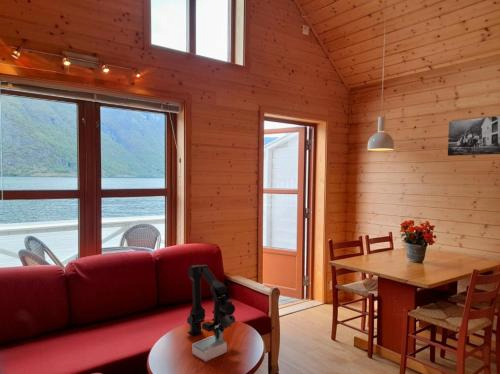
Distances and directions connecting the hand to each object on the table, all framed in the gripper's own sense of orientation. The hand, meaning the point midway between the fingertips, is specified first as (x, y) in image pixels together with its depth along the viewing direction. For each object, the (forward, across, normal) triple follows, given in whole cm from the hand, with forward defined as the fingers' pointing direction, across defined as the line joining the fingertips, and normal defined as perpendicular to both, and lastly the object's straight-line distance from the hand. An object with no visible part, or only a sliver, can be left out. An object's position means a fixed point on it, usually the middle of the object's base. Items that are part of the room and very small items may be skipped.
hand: (218, 338), depth 186 cm
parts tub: (+6, -6, 0) cm, 8 cm away
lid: (+1, -6, 0) cm, 6 cm away
